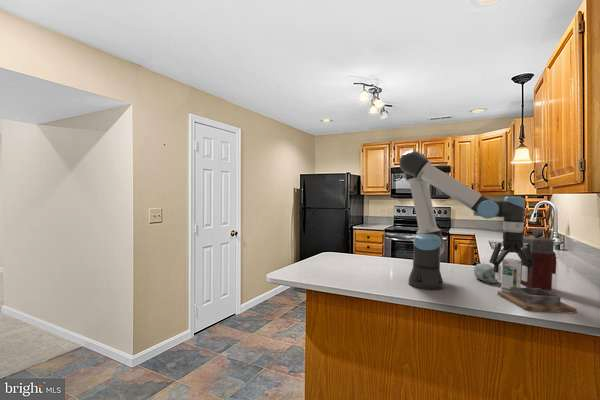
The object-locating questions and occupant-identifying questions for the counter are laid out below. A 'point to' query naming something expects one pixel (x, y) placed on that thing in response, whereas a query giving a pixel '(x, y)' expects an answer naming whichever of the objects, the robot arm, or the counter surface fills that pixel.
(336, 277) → the counter surface
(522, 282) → the toy vending machine
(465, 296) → the counter surface
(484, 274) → the grey green rock
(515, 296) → the board
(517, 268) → the syrup box
